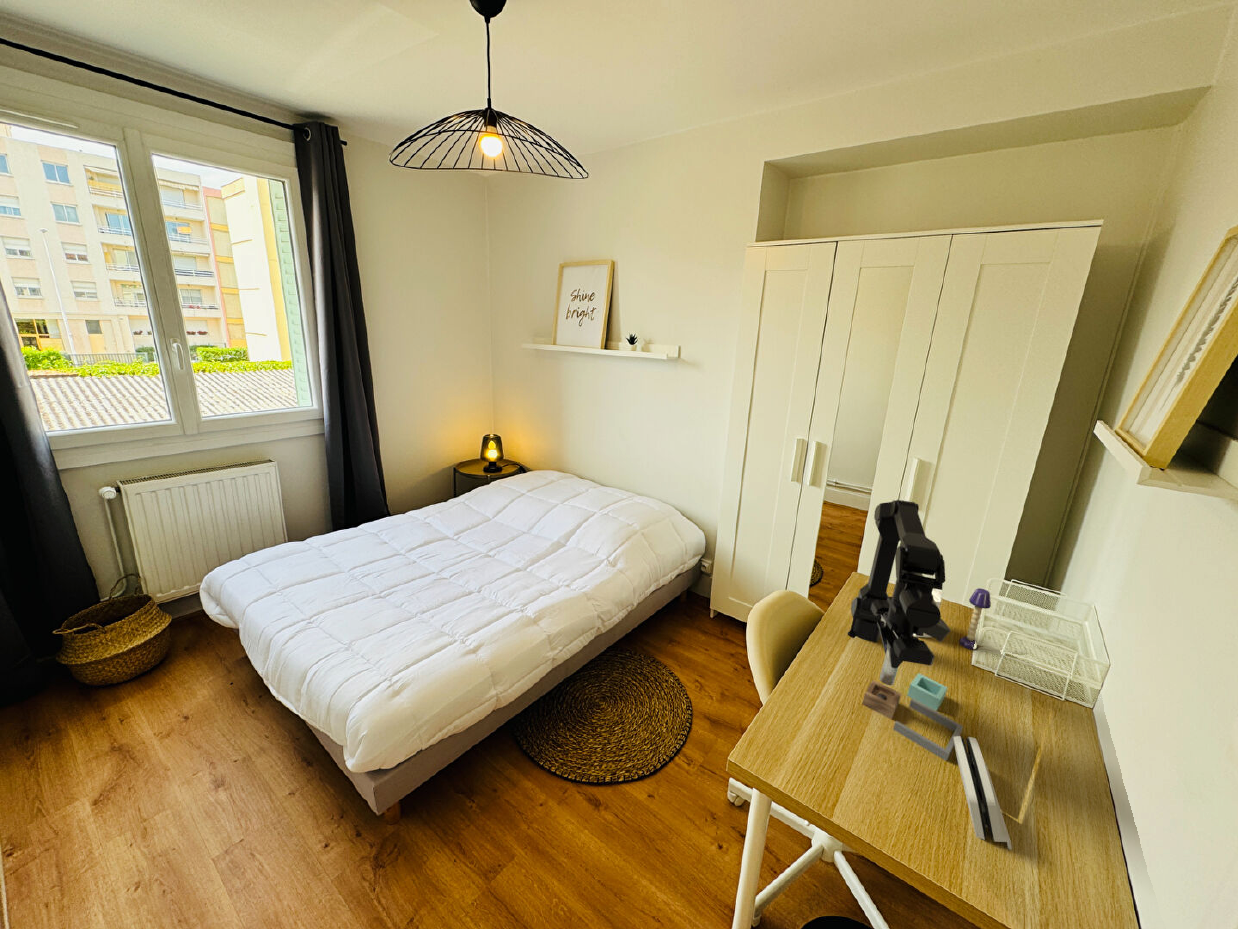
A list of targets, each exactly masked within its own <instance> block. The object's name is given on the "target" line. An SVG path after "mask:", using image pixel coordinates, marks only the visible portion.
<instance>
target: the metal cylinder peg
mask: <svg viewBox="0 0 1238 929" xmlns="http://www.w3.org/2000/svg"><path fill="white" fill-rule="evenodd" d="M898 670H899V667H898V668H892V667H891V663H890V658H889V651H888V645H887V652H886V655H885V656H884V661H883V663H882V667H881V671H880V675H879V681H880V683H881V684H883V685H885V686H893V685H894V684H895V680H896V678H897V677H896V676H897V673H898Z"/></svg>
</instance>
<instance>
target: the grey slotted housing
mask: <svg viewBox="0 0 1238 929" xmlns="http://www.w3.org/2000/svg"><path fill="white" fill-rule="evenodd" d="M953 738H954V744H955V745H954V749H955V754H956V755H955V756H956V762H957V765H958V770H959V771H960V773H959V774H960V776H961V781H962V784H963V789H964V793H965V798H966V801H967V806H968V810H969V814H970V819H971V823H972V826H973V830H974V833H975V837H976V838H978V839H981V840H984V841H985V840H986V839H985V838H988V834H987V830H988V833H989V836H990V839H993V842H997V843H998V842H999V843H1000V842H1001V843H1006V847H1007V850H1011V851H1013V848H1012V842H1011V838H1010V835H1009V832H1008V828H1007V826H1006V822H1005V820H1004V816H1003V813H1002V810H1001V806H1000V803H999V800H998V797H997V793H996V791H995V787H994V785H993V781H992V777H991V774H990V771H989V768H988V765H987V763H985V760H984V757H983V755H982V751H981V748H980V745H979V743H978V740H977V739H976V737H971V736H968V737H965V740H964V737H961V735H960V736H956V737H953ZM965 741H966V742H965ZM979 791H980V792H979ZM979 793H981V798H980V794H979ZM981 799H982V800H981ZM986 828H987V829H986Z"/></svg>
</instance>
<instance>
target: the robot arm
mask: <svg viewBox="0 0 1238 929" xmlns="http://www.w3.org/2000/svg"><path fill="white" fill-rule="evenodd" d="M919 509H920V508H919V504H918V503H916V502H914V501H908V500H901V499H896V500H895V499H894V500H892V501H888V502H881V503H879V504H877V506H876V507H875V509H874V517H873V518H874V522H875V525H876V528H877V531H878V533H879V535H878V539H877V545H876V548H875V552H874V558H873V561H872V564H871V565H872V566H871V570H870V573H869V579H868V582H867V583H866V584H865V585H864V586H863V587H861V588H859V591H858V595H857V596H855V597H854V599H853V600H852V601H851V603H850V604H851V605H850V611H851V617H852V620H851V626H850V630H849V631H848V632H847V636H849V637H851V638H854V639H855V637H857V638H859V639H860V640H864V641H869V642H873V643H878V641H879V640H881V641H882V646H883V647H882V648H883V649H884V654H885V656H886V652H887V645H888V651H889V658H890V663H891V667H892V668H898V669H899V667H900V666H901V665H902V663H903V662H906V663H914V664H918V665H919V664H920V665H925V666H926V665H927V666H932V665H933V664H934V660H935V655H934V654H933V653H934V652H932V650H931V649H930V647H929V646H928V644H927V643H926V642H925V641H924V640H920V639H919V637H915V636H914V635H913V634H916V635H918V636H923V634H924V633H925V634H927V635H929V636H931V637H930V638H933V639H936V641H938V642H940V643H941V642H943V641H944V639H946V637H947V636H948V634H949V633H950V632H951V628H950V626H948V624H947V623H946V621H944V620H943V619H942V616H941V615H942V614H941V611H940V609H939V608H938V606H937V605H936V603H935V601H934V599H933V595H932V590H935V589H939V590H941V591H942V590H943V588H944V587H943V584H944V583H945V582H946V569H945V566H946V565H945V564H946V563H945V559H944V556H943V554H942V553H941V550H940V549H939V547H938V545H937V544H936V543H935V541H933V540H931V539H930V538H928V537H927V536H926V533H925V529H924V527H923V523H922V522H921V518H920V514H919V511H920V510H919ZM899 542H900V544H899ZM894 562H895V577H896V580H895V584H894V588H893V591H892V592H893V593H892V596H889V595H888V594H889V593H888V592H887V591H888V586H889V583H890V578H891V575H892V571H893V566H894ZM924 575H927V576H928V577H927V576H924ZM929 576H934V578H933V577H929Z"/></svg>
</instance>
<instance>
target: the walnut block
mask: <svg viewBox="0 0 1238 929" xmlns="http://www.w3.org/2000/svg"><path fill="white" fill-rule="evenodd" d="M901 697H902V692H900V691H897V690H895V689H894V688H892V687H889V686H888V685H886V684H884V683H882V682H878V681H877V680H874V679H872V680H871V682H870V683H869V685H868V687H867V689H866V690H865V692H864V696H863V700H862V702H861V705H863V706H864V707H866V708H868V709H870V710H872V711H874V712H876V713H878V714H880V715H881V716H884V717H885V718H887V719H890V720H892V719H893V718H894V715H895V712H896V711H897V708H898V706H899V704H900V700H901Z"/></svg>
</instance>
